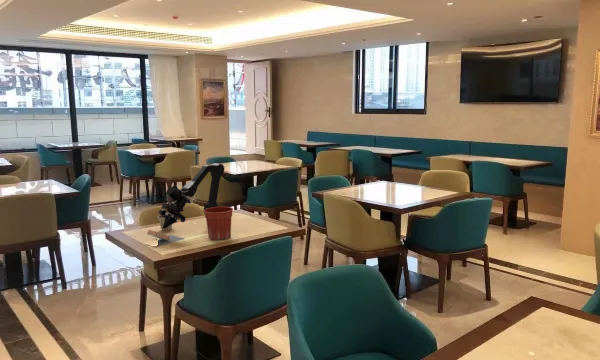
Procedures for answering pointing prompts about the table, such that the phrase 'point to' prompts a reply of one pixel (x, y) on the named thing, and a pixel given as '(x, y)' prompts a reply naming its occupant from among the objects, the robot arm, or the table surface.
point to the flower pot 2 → (218, 222)
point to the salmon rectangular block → (158, 235)
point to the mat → (172, 239)
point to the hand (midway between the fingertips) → (163, 228)
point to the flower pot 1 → (161, 220)
